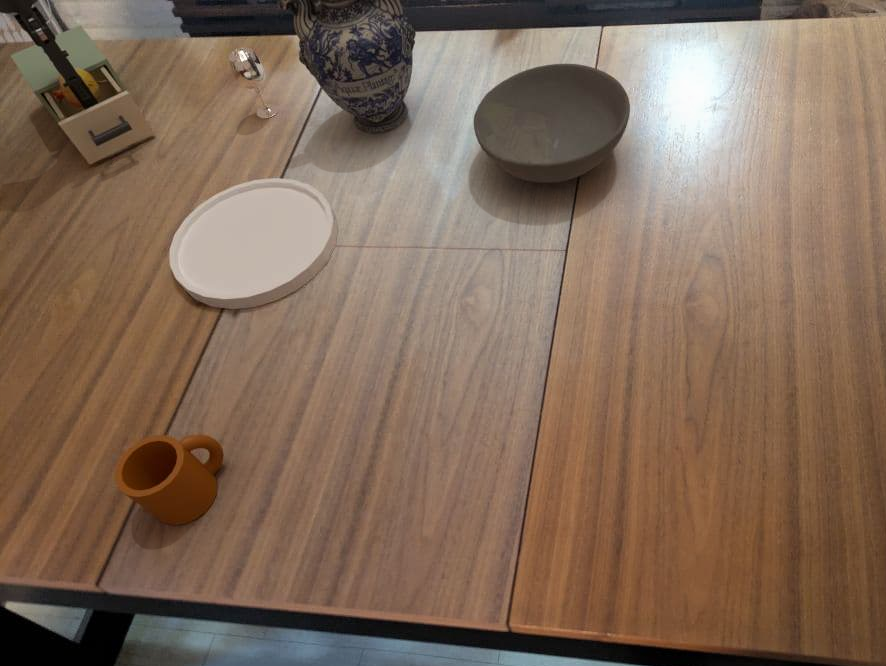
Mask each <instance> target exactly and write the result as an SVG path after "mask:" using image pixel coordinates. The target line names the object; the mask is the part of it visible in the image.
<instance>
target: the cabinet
mask: <svg viewBox="0 0 886 666" xmlns="http://www.w3.org/2000/svg"><path fill="white" fill-rule="evenodd" d="M54 36H55V37H56V39H55V42H56V43H57V45H58V46H59V47H60V49H61V50H62V51H64V50H66V52H67V53H68V54H69V56H67V57H66V58H67V59H68V60H69V62H70V63H71V64H72V66H73V67H74V68H80V69H83V70H85V71H87V72H89V71H91V70H94V69H96V68H98V67H100V66H102V65H103V66H104V68H105V69H106V70H107V72H108V73H109V74H110V76H111V77H112V78H113V80H114V81H115V82H116V83H117V85H118V86H119V87H120V89H121V90H122V91H123V92H124V91H126V90H127V91H128V89H127V88H126V86H125V85H124V83H123V81H122V80H121V79H120V77H119V76H118V73H117V71H115V69H114V68H113V66H112V64H111V63H110V61H109V60H108V58H107V57H106V56H105V54H103V52H102V51H101V50H100V48H99V47H98V46H97V44H96V43H95V42H94V41H93V39H92V38H91V36H90V35H89V34H88V33H87V32H86V30H85V29H84V28H83V26H82V25H81V24H79V25H77V26H74V27H72V28H70V29H68V30H65V31H63V32H61V33H59V34H56V35H54ZM10 57H11V59H12V61H13V62H14V64H15V65H16V66H17V69H18V70H19V72H20V74H21V75H22V77H23V78H24V80H25V81H26V83H27V84H28V86H29V88H30V89H31V91H32V92H33V94H34V95H35V96H36V98H37V99H38V100H39V101H40V102H41V104H42V105H43V106H44V108H45V109H46V110H47V112H48V113H49V114H50V115H51V116H52V118H53V119H54V121H55V122H56V123H57V124H58V122H60V121H61V119H60V118H59V116H58V115H57V113H56V112H55V110H54V109H53V107H52V106H51V104H50V102H49V101H48V99H47V98H46V96H45V95H44V93H43V92H45V91H47V90H50V89H52V88H54V87H56V86H58V85H60V84H59V75H60V73H59V72H58V71H57V69H56V68H55V66H54V65H53V63H52V61H50V59H49V57H48V56H47V54H45V52H44V50H43V49H42V47H39V46H37V45H36V44H35V43H34V44H33V45H31V46H29V47H27V48H24V49H22V50H19V51H17V52H15V53H12V54H11V55H10ZM128 93H129V94H130V92H129V91H128ZM130 96H131V94H130ZM131 97H132V96H131ZM132 99H133V100H134V98H133V97H132Z"/></svg>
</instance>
